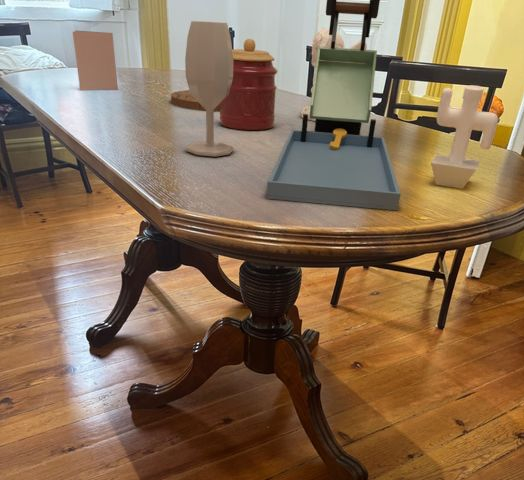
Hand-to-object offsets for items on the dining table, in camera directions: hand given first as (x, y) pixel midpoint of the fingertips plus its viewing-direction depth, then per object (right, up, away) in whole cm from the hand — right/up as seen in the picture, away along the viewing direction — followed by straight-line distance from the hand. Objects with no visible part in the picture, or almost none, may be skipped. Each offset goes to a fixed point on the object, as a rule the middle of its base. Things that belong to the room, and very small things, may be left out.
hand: (348, 35), depth 108 cm
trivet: (-32, +4, +38) cm, 50 cm away
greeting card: (-69, +14, +49) cm, 86 cm away
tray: (-5, -34, -16) cm, 38 cm away
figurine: (+14, -38, -20) cm, 45 cm away
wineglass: (-28, -28, -9) cm, 41 cm away
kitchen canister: (-22, -13, +14) cm, 29 cm away
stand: (-2, -20, +5) cm, 21 cm away
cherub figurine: (-2, -5, +28) cm, 28 cm away
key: (-3, -24, -3) cm, 24 cm away
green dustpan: (-1, -8, 0) cm, 8 cm away
